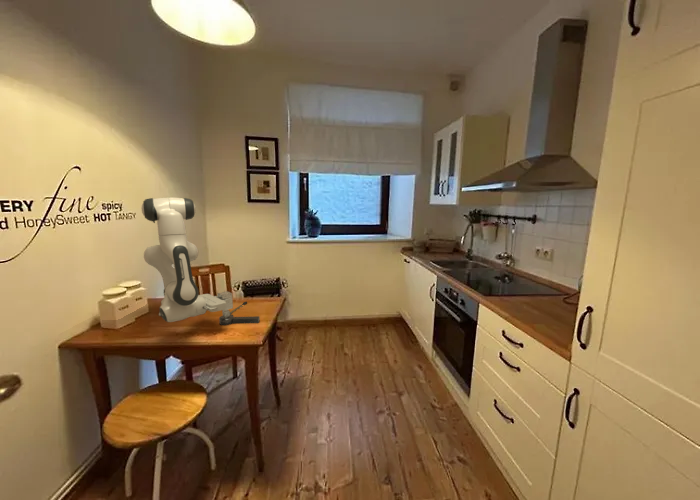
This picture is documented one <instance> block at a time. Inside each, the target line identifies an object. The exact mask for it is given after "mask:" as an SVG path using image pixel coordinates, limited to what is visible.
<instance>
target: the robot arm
mask: <svg viewBox="0 0 700 500" xmlns="http://www.w3.org/2000/svg"><path fill="white" fill-rule="evenodd" d="M142 202H143V203H142V205H141V213H142V215H143V216H144V219H146V220H147V221H149V222H152V223H154V224H155V223H156V222H157V223H156V225H157V233H158V241H159V244H155V245H152V246H149V247H148V246H147V247H146V249H145V250H144V252H143V258H144V261H145V263H146V264H147V265H149V266H151V267H153V268H155V269H156V270H157V271H158V272H159V273H160V275H161V278H162V282H163V288H164V289H163V296H164V297H163V298H162V299H161V302H160V306H159V312H158V316H159V317H161V318H162V320H163V321H165V322H166V323H173V322H179V321H183V320H186V319H188V318H190V317H191V318H193V317H197V316H201V315H204V314H206V312H207V311H208V312H210V313H215V312H220V311H222V310H225V309H226V308H227V303H229V302H230V301H231V300H230V299H229V298H227V299H226V300H221V299H219V298H218V296H217V295H212V294H210V293H204V294H199V288H198V286H197V284H196V283H195V281H194V277H193V272H192V267H191V265H192V264H191V262H194V261H195V260H197V258H198V256H199V249H198V247H197V245H196V244H195V243H192V242H191V241H189V240H188V235H187V229H186V223H185V221H187V220H191V219H193V218H194V217H195V215H196V208H197V207H196V204H195V203H194V201H193V200H192V199H191V198H187V197H183V198H181V197H173V196H172V197H158V198H155V197H154V198H153V197H152V198H151V197H150V198H145V199H144V200H143V201H142ZM172 265H173V266H172Z"/></svg>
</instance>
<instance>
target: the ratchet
mask: <svg viewBox="0 0 700 500" xmlns="http://www.w3.org/2000/svg"><path fill="white" fill-rule="evenodd" d="M221 311H222V310H221ZM230 312H231V311H230V309H228V310H225V311H222V315H221V316H219V318H218V321H219V325H220V326H230V325H233V324H235V325H237V324H239V325H240V324H259V323H260V316H259V315H258V316H234V314H231V315H230Z"/></svg>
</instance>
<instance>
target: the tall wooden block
mask: <svg viewBox="0 0 700 500" xmlns="http://www.w3.org/2000/svg"><path fill="white" fill-rule="evenodd" d="M216 296H218V298H219V299H221V300H226V299H227V298H229V299H230V300H231V301H230V302H229V303H227V308H226V309H225V310H231V309H232V310H233V309H234V304H233V302H234V300H233V293H232V292H230V291H228V290H226V291H222V292H218V293H217V294H216ZM225 310H221V311H225Z"/></svg>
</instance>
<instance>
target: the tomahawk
mask: <svg viewBox="0 0 700 500" xmlns="http://www.w3.org/2000/svg"><path fill="white" fill-rule="evenodd" d="M247 303H248V301H244V302H243V303H242V304H241V305H239V306H237V307H236V308H233V309H232V310H231V311H230V315H233V313H235V312H236V311H237V309H238V310H240V309H241V308H242V307H243V306H242V305H244V306H246V304H247ZM240 307H241V308H240Z"/></svg>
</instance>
